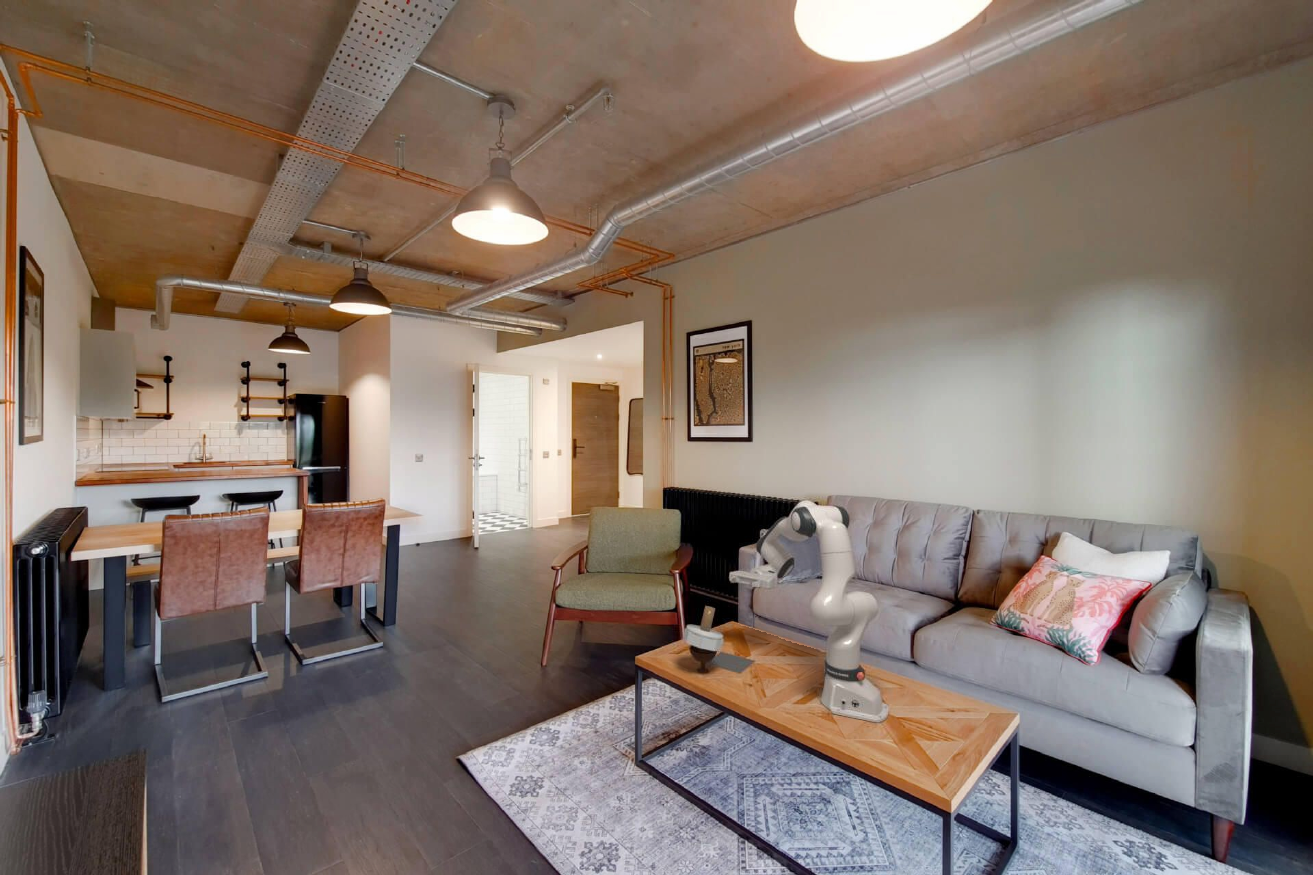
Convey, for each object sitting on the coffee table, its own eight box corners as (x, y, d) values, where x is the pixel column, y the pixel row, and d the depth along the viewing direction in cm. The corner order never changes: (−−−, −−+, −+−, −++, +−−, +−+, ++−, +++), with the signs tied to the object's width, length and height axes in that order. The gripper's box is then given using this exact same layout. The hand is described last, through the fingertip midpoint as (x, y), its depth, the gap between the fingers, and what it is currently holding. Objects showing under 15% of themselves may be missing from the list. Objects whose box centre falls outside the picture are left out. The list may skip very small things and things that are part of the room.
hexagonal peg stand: (726, 649, 222) (734, 612, 225) (709, 651, 211) (718, 612, 213) (694, 637, 231) (702, 602, 233) (677, 639, 219) (685, 601, 221)
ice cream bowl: (718, 678, 216) (719, 639, 216) (689, 677, 216) (690, 638, 216) (715, 666, 227) (716, 629, 226) (688, 666, 227) (689, 629, 227)
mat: (755, 661, 232) (755, 660, 232) (740, 674, 220) (740, 673, 220) (721, 652, 241) (721, 651, 241) (704, 664, 228) (704, 663, 228)
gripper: (739, 565, 249) (721, 570, 239) (780, 573, 235) (762, 579, 225) (739, 580, 249) (720, 585, 239) (780, 588, 235) (762, 595, 225)
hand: (741, 582), depth 231 cm, fingers open, 8 cm apart
